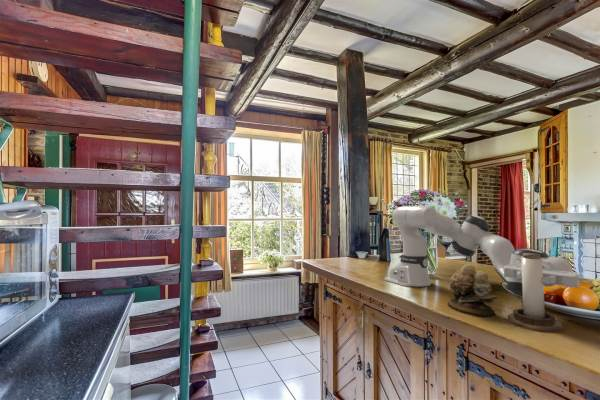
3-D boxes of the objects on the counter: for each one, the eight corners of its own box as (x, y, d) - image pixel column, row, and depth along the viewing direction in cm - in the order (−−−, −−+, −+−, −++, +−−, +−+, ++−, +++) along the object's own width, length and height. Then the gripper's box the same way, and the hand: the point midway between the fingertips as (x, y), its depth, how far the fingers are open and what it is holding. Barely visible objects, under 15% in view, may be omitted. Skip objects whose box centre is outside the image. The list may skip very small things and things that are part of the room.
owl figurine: (506, 315, 106) (505, 266, 106) (485, 321, 101) (483, 269, 101) (460, 300, 122) (458, 258, 122) (439, 305, 117) (438, 261, 117)
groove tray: (500, 321, 99) (499, 312, 99) (517, 312, 107) (517, 304, 107) (553, 335, 88) (553, 325, 88) (568, 324, 96) (568, 315, 96)
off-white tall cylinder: (520, 316, 98) (518, 254, 99) (527, 312, 101) (524, 252, 102) (541, 321, 94) (538, 256, 94) (547, 317, 97) (544, 254, 97)
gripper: (586, 288, 97) (573, 295, 89) (513, 276, 114) (497, 282, 106) (585, 268, 97) (573, 274, 89) (512, 260, 114) (496, 264, 106)
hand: (531, 278), depth 97 cm, fingers closed on off-white tall cylinder, 5 cm apart
